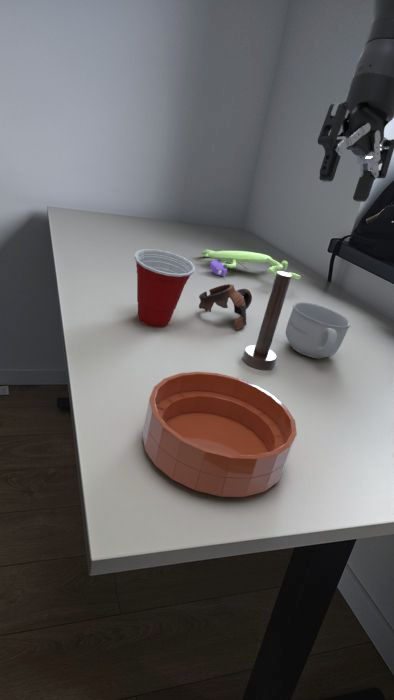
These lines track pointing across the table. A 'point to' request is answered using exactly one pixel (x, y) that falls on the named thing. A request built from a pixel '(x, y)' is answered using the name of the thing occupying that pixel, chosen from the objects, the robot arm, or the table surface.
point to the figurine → (241, 261)
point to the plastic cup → (160, 284)
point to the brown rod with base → (268, 326)
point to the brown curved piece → (221, 296)
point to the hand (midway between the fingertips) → (342, 191)
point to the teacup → (315, 330)
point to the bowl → (218, 433)
